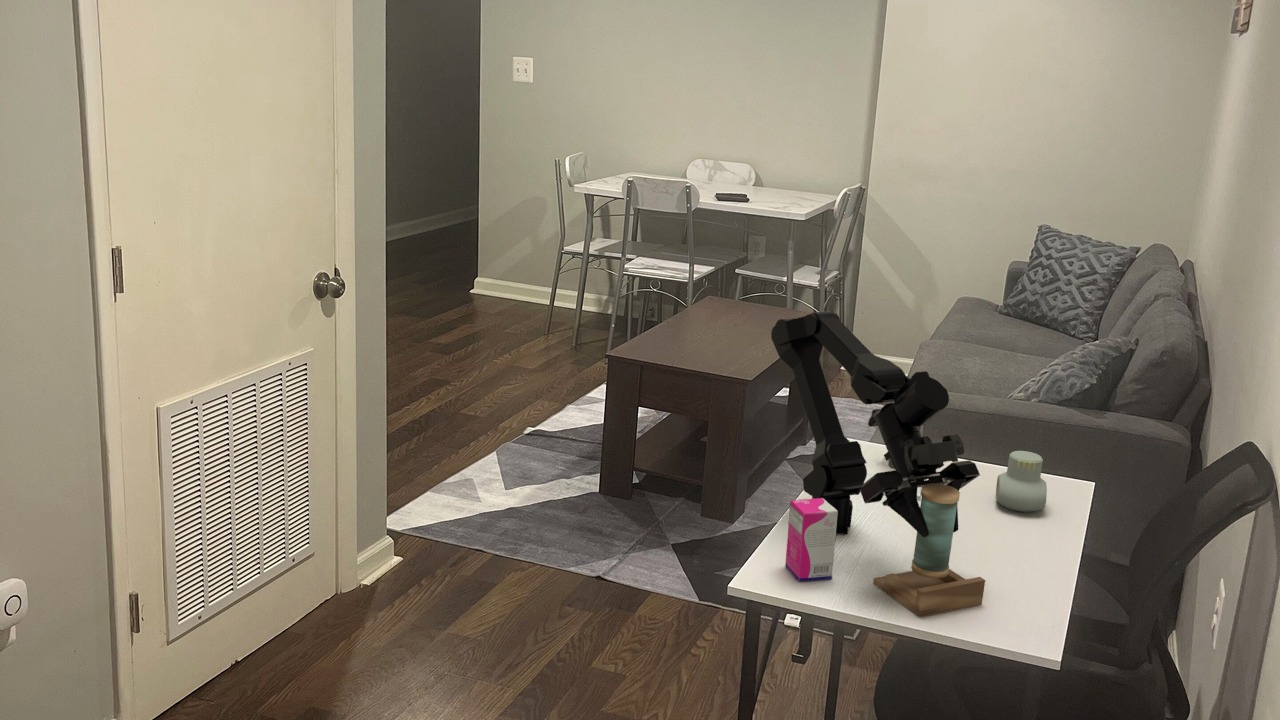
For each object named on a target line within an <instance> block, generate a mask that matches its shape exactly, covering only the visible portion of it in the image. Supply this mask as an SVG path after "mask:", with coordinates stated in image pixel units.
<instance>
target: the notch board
mask: <svg viewBox="0 0 1280 720" xmlns="http://www.w3.org/2000/svg"><path fill="white" fill-rule="evenodd" d="M872 584H873V585H874V586H875V587H876V588H878V589H880V590H881V591H882V592H884V593H885V594H886V595H888V596H889V597H891V598H892V599H893V600H895V601H897V602H898V603H899V604H901V606H903V607H905V608H906V609H907V610H909V611H910V612H911V613H913V614H914V615H915V616H917V617H918V618H922V617H927V616H932V615H937V614H942V613H946V612H947V613H948V612H951V611H955V610H960V609H966V608H971V607H976V606H979V605H983V599H984V592H985V585H986V579H984V578H983V577H982V576H976V577H971V578H964V577H963V576H961V575H960V574H958V573H957V572H955V571H953V570H952V569H951V568H949V573H948V575H947V576H946V577H944V578H928V577H924V576H921V575H919V574H917V573H915V572H914V571H913V570H910V571H904V572H898V573H894V572H893V573H888V574H885V575H884V576H878V577H873V582H872Z"/></svg>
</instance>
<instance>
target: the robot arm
mask: <svg viewBox="0 0 1280 720" xmlns="http://www.w3.org/2000/svg"><path fill="white" fill-rule="evenodd" d="M770 334H771V335H770V336H771V341H772V343H773V346H774V348H775V350H776V352H777V355H778V357H779V359H781V360H782V361H783V362H784V363H785V364H786V365H787V366H788V367H789V368H791V370H792V372H793V375H794V378H795V381H796V385H797V388H798V391H799V394H800V397H801V401H802V403H803V404H802V405H803V407H804V410H805V414H806V416H807V420H808V422H809V426H810V429H811V432H812V435H813V439H814V443H815V449H814V452H813V455H812V460H811V461H812V468H813V470H811V471H810V472H809V473H808V474H806V476H804V477H803V478H802V484H803V491H804V492H805V493H807V494H808V495H809V496H811V499H817V498H823V499H825V500H826V501H827V502H828V503H829V504H830V505H831V506H832V507H834V508H835V509H836V510H837V511H838V515H837V527H836V535H838V534H839V535H849V528H850V527H851V525H852V519H853V518H852V517H853V516H852V515H853V508H854V506H853V501H852V500H851V496H854V495H855V496H856V495H857V496H859V495H861V496H862V500H863V502H864V504H872V503H873V504H874V503H879V502H881V501H882V499H883V498H884V494H883V493H884V492H885V494H886V495H885V498H886V499H885V500H883V501H882V505H883V506H884V507H886V506H887V507H889V508H890V509H891V510H892V511H893V512H895V513H896V514H898V516H899V517H901V518H902V519H904V521H905V522H907V523H908V524H909V525H910V526H911V527H912V528H913V529H914V530H915V531H916V533H917V532H918V533H919V534H920V535H921V536H923V537H927V536H928V535H929V532H928V528H927V525H926V522H925V519H924V517H923V514H922V512H921V509H920V505H919V502H918V501H917V488H918V487H922V486H923V485H926V484H933V483H934V484H944V485H948V486H951V487H953V488H955V489H957V490H958V491H959V492H960V490H961V489H963V488H964V487H965V486H966V485H968V484H970V483H971V482H973V480H975V479H977V478H978V477H979V476H981V474H980V472H979V469H978V466H977V465H976V463H975V462H973V461H971V460H970V459H969V460H961V461H959V458H958V456H961V455H964V453H965V447H964V442H963V440H962V439H961V437H960V435H959V434H958V433H955V434H948V435H944V436H943V437H942V442H933V441H932V439H931V438H930V437H929V435H928V436H923V435H922V432H921V429H920V430H919V428H918V426H921V427H922V426H924V425H926V424H927V423H928V422H929V421H931V420H932V419H933V418H935V417H936V415H938V414H939V413H940V412H942V411H943V410H944V409H945V408H946V407H947V406H948V405H949V403H950V397H949V396H950V395H949V392H948V390H947V388H946V387H945V386H944V385H943V384H941V382H939V380H937V379H935V378H934V377H931V376H930V375H929V372H928V371H927V370H926V371H925V370H923V371H922V370H921V371H916V373H915V374H914V375H913V374H912V376H911V378H910V377H908V376H907V375H906V374H905V371H904V370H903V369H902V368H901V367H899V366H898V365H896V364H895V363H894V362H892V361H891V360H889V359H886V358H883V357H880V356H877V355H875V354H874V353H873V352H871V350H869V349H868V347H866V346H865V344H863V343H862V341H860V340H859V338H858V337H856V336H855V334H853V332H852V331H851V330H850V329H849V328H848V327H847V326H846V325H845V324H844V323H843V322H842V321H841V319H840V316H839V315H838V313H837V312H833V311H815V312H814V311H813V312H811V313H809V314H807V315H804V316H800V317H797V318H795V317H794V318H781V319H778V320H777V321H776V323H775V325H774V326H773V327H772V329H771V332H770ZM824 348H825V349H826V350H827V351H828V353H829V354H831V356H832V357H833V358H834V359H835V360H836V361H837V362H838V363H839V364H840V366H841V367H843V369H844V370H846V372H847V373H848V375H849V376H850V386H851V388H852V390H853V391H854V393H855V394H856V396H857V397H858V399H859V401H860V402H861V403H863V404H864V405H877V404H884V405H883V406H882V407H881V408H876V409H872V410H871V415H870V417H869V419H868V423H867V425H868V427H869V428H870V427H871V428H873V427H877V428H878V429H879V432H880V435H881V437H882V440H883V443H884V445H885V448H886V450H887V451H886V453H884V454H883V457H884V459H885V461H886V462H889V460H891V461H892V463H893V466H894V468H895V469H894V468H893V469H894V470H888V471H882V472H881V471H879V472H877V473H875V474H874V476H873V477H871V478H870V479H869V480H868V481H866V482H865V483H864V481H865V479H866V476H867V474H868V471H867V466H866V464H867V460H866V459H865V457H864V455H863V452H862V446H861V444H860V443H859V442H858V441H857V440H856V441H855V440H854V441H851V440H849V439H848V438H847V437H846V436H845V434H844V432H843V428H842V425H841V422H840V419H839V416H838V412H837V410H836V407H835V405H834V400H833V397H832V394H831V391H830V388H829V386H828V385H829V384H828V382H827V379H826V376H825V374H824V369H823V367H822V364H821V356H822V353H823V349H824ZM891 402H894V403H891ZM946 462H951V463H950V464H948V465H947V466H946V467H944V465H945V464H944V463H946ZM942 467H944V468H943V469H942V470H940V471H937V470H938V469H941V468H942ZM860 491H861V492H860ZM958 510H959V508H958V507H957V509H956V516H955V523H954V530H953V533H957V531H959V513H958Z"/></svg>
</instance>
